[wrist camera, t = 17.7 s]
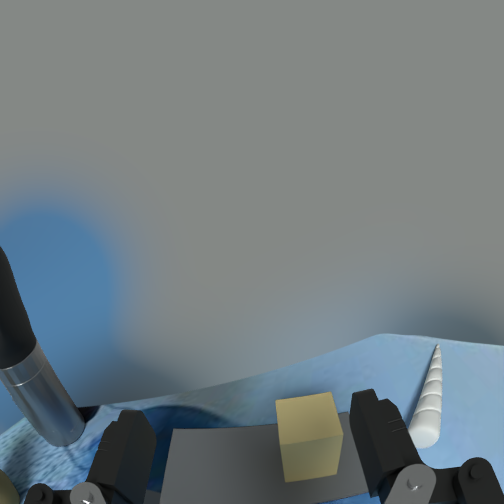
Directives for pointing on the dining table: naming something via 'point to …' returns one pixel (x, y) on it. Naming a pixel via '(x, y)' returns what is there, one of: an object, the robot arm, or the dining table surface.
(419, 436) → the unicorn horn
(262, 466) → the mat
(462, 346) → the dining table surface
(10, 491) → the squeeze bottle
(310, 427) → the tall cream block
